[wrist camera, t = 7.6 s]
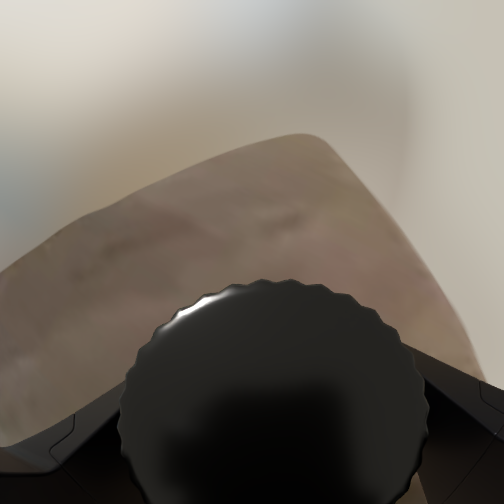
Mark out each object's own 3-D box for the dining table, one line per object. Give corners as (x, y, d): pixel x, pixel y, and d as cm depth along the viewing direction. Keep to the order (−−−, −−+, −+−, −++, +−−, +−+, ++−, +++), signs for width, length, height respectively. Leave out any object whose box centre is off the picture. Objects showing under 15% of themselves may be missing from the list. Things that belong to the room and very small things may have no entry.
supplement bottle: (217, 346, 16) (98, 225, 5) (340, 341, 15) (445, 210, 5) (215, 463, 12) (79, 556, 2) (344, 460, 12) (466, 553, 1)
